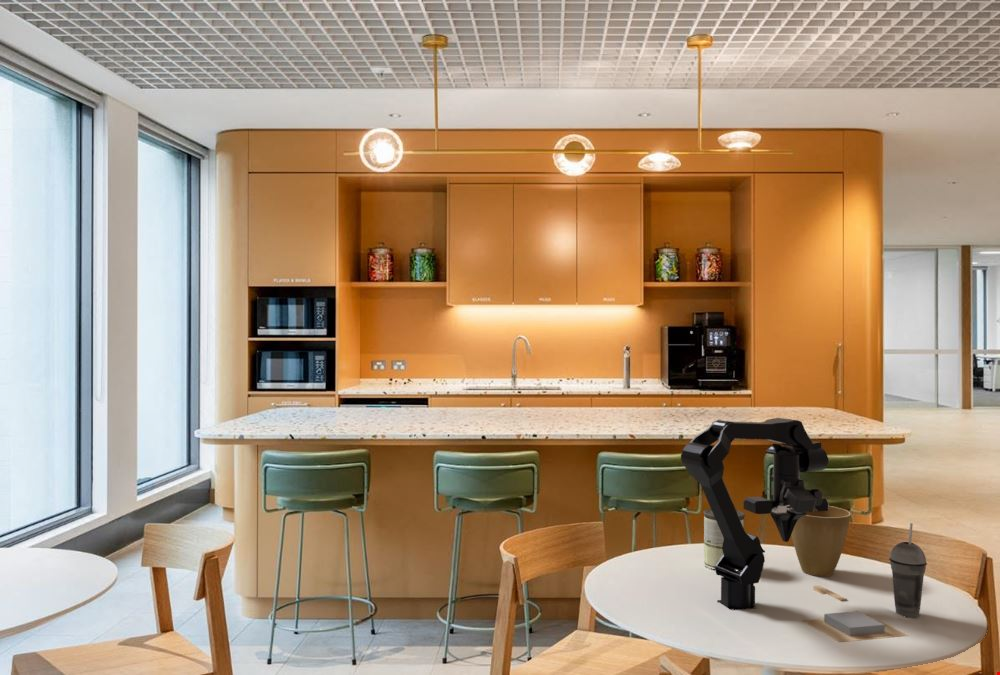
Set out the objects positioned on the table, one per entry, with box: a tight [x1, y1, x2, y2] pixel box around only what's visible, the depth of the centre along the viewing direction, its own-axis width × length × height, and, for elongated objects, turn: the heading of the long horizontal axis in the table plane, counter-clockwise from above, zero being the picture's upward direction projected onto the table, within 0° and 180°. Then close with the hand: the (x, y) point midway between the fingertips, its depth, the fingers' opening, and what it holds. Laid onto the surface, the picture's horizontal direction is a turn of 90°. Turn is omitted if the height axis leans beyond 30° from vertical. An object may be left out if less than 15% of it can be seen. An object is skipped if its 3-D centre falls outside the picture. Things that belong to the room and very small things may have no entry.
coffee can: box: [703, 508, 746, 571], centre depth 207 cm, size 10×10×14 cm
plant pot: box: [791, 505, 851, 577], centre depth 202 cm, size 15×15×16 cm
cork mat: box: [801, 614, 910, 643], centre depth 162 cm, size 16×12×1 cm
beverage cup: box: [888, 522, 928, 618], centre depth 172 cm, size 7×7×20 cm
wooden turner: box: [813, 585, 848, 602], centre depth 180 cm, size 16×5×1 cm, turn 14°
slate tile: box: [823, 610, 885, 636], centre depth 162 cm, size 2×8×8 cm
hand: (785, 541), depth 182 cm, fingers closed
